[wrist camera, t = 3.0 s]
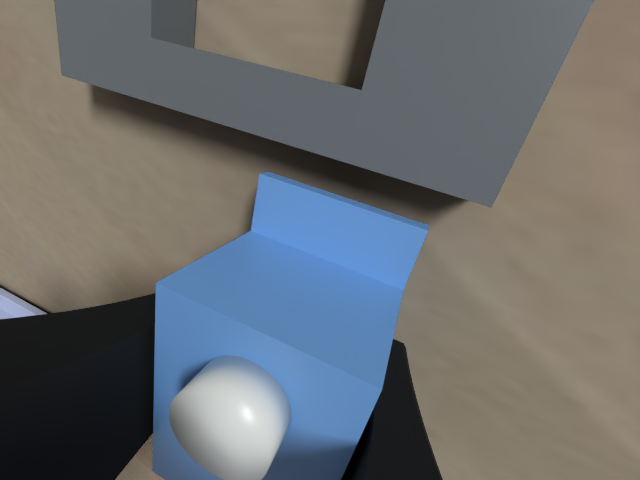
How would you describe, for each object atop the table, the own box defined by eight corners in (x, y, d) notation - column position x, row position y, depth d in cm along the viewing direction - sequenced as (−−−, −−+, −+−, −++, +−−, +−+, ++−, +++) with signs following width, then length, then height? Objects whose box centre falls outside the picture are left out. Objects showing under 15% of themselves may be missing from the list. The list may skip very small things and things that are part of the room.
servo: (252, 371, 13) (124, 539, 7) (294, 164, 9) (106, 213, 4) (345, 417, 12) (271, 646, 6) (430, 208, 8) (417, 345, 3)
